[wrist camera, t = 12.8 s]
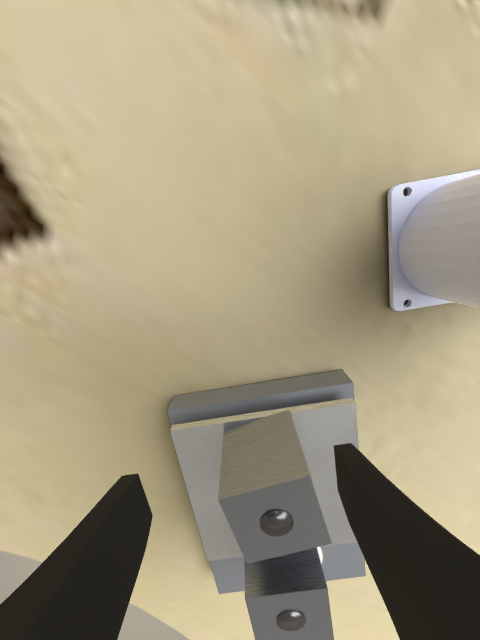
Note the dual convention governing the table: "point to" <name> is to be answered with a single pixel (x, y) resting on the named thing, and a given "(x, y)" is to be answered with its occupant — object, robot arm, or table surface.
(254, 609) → the block
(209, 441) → the pan
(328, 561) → the scale housing
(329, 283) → the table surface
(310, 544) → the block
